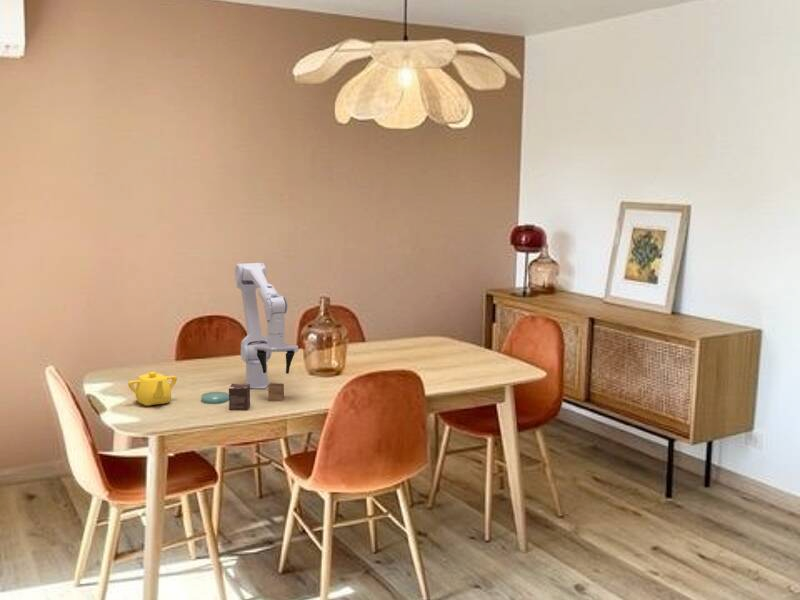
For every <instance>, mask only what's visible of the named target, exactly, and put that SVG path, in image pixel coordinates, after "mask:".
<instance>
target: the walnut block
mask: <svg viewBox="0 0 800 600" xmlns="http://www.w3.org/2000/svg"><path fill="white" fill-rule="evenodd" d="M267 391H268V392H267V393H268V395H267V396H268V398H267V399H268V402H282V401H283V400H284V399H285V383H282V382H281V383H280V382H279V383H275V382H270V383H269V385H268V386H267ZM283 398H284V399H283Z"/></svg>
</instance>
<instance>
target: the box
mask: <svg viewBox="0 0 800 600" xmlns="http://www.w3.org/2000/svg"><path fill="white" fill-rule="evenodd" d="M228 394H229V401H228V408H229V410H230V411H241V410H242V411H243V410H245V411H248V410H249V408H250V406H251V388H250V384H246V383H231V384H230V386H229V388H228Z"/></svg>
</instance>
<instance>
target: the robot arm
mask: <svg viewBox="0 0 800 600" xmlns="http://www.w3.org/2000/svg"><path fill="white" fill-rule="evenodd" d="M235 265H236V266H235V267H234V268H235V269H234V277H235V279H234V280H235V284H236V288H238V289H239V290H241V291H240V292H241V296H242V297H241V298H242V304H243V312H244V318H245V327H246V328H245V329H246V333H247V335H246V336H245V337H244V338H242V340H241V342H240V357H241V360H242V361H243V362H245V384H250V389H255V390H256V389H257V390H258V389H261V390H265V389H267V388H268V386H269V385H270V384H271V381H270V380H268V364H267V363H268V362H269V360H270V359H271V357H272V353H273V352H274V353H275V352H277V353H279V352H280V353H285V364H286V365H285V374H289V373H290V369H291V364H292V361H293V359H294V355H295V354H297V353H298V352H299V345H291V344H285V341H286V339H285V333H286V331H285V328H286V327H285V314H287V311H288V301H287V299H286V297H285V296H283V295H280V294H279V293H278V291H277V289H276V288H275V286H274V285H273V284H271V283H269V281H268V280H267V278H266V277H267V268H266V265H265V263H264V262H261V261H260V262H254V263H253V262H249V263H247V262H246V263H237V264H235ZM257 289H258V292H257V291H256V290H257ZM256 292H257V293H258V296H259V297H260V300H261V301H262V303H263V304H264V305H263V309H264V313H265V319H266V326H267V327H266V333H267V336H266V335H264V334H263V333H262V330H261V323H260V322H261V321H260V315H259V308H258V306H259V305H258V299H257V294H256Z"/></svg>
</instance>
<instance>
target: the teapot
mask: <svg viewBox="0 0 800 600" xmlns="http://www.w3.org/2000/svg"><path fill="white" fill-rule="evenodd" d="M168 380H171V383H170V384H169V381H168ZM177 380H178V377H177V376H176V375H169V376H168V375H167V376H165V374H162V373H157V372H156V371H150V372H148V373H144V374H141V375H139V376H138V379H137V380H136V379H135V380H130V381H129V380H128V382H127V385H128V388H129V389H130V390H131V392H133V393H134V394H135V398H136V400H137V402H138V403H140V404H142V405H144V406H145V407H151V406H154V405H166V404H167V403H169V402H170V400H171V398H172V392H171V390H172V388H174V386H175V385H176V383H177ZM134 384H136V386H134ZM165 403H166V404H165Z"/></svg>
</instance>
